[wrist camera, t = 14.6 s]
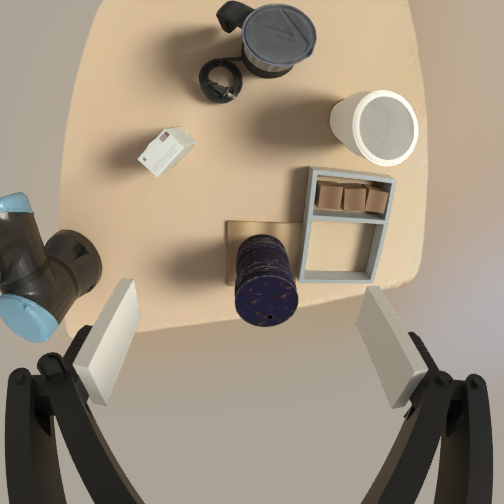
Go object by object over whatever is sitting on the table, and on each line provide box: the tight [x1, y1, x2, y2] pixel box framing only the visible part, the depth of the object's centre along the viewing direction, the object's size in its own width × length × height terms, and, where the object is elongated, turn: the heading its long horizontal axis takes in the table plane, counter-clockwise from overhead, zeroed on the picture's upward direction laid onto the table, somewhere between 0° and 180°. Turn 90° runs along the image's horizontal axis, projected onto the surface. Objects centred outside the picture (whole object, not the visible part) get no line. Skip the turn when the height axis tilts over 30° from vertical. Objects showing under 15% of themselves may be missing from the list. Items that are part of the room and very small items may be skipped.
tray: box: [297, 166, 396, 283], centre depth 54 cm, size 16×22×3 cm
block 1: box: [314, 180, 343, 209], centre depth 51 cm, size 4×4×4 cm
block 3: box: [362, 184, 389, 213], centre depth 52 cm, size 4×4×4 cm
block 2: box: [339, 183, 366, 211], centre depth 51 cm, size 4×4×4 cm
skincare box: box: [138, 127, 198, 177], centre depth 43 cm, size 6×4×12 cm
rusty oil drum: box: [235, 234, 298, 327], centre depth 51 cm, size 10×10×15 cm
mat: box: [227, 220, 303, 286], centre depth 58 cm, size 14×14×1 cm
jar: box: [330, 90, 419, 166], centre depth 40 cm, size 11×10×15 cm
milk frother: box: [199, 1, 317, 103], centre depth 36 cm, size 14×16×15 cm
